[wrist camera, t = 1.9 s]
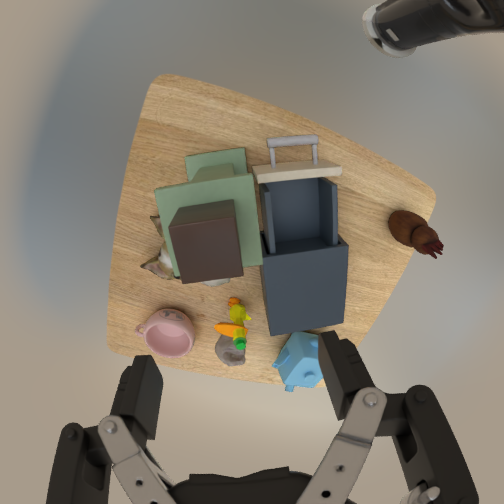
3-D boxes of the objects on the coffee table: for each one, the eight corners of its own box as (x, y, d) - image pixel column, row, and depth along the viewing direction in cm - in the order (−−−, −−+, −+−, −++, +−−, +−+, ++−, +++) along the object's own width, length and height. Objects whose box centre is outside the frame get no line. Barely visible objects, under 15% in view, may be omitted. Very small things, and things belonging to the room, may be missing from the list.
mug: (196, 304, 53) (194, 324, 47) (196, 341, 57) (194, 361, 51) (136, 298, 51) (128, 317, 46) (141, 336, 55) (135, 355, 50)
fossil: (216, 337, 57) (215, 373, 48) (213, 325, 55) (211, 361, 46) (244, 334, 57) (247, 370, 48) (241, 321, 55) (244, 357, 46)
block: (178, 207, 22) (167, 226, 18) (233, 198, 22) (234, 216, 18) (189, 256, 24) (182, 284, 20) (240, 249, 24) (243, 276, 20)
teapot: (304, 373, 64) (313, 405, 55) (252, 364, 61) (256, 399, 52) (344, 320, 57) (360, 352, 48) (287, 305, 54) (298, 340, 45)
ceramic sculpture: (219, 314, 43) (128, 286, 41) (222, 286, 51) (144, 262, 49) (240, 255, 39) (138, 224, 37) (241, 234, 47) (156, 207, 45)
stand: (185, 156, 41) (146, 185, 21) (243, 147, 41) (258, 167, 21) (195, 210, 45) (171, 282, 25) (250, 202, 45) (269, 269, 25)
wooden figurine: (379, 232, 49) (424, 270, 36) (388, 203, 47) (437, 234, 33) (406, 236, 50) (451, 273, 36) (414, 209, 48) (463, 240, 34)
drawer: (248, 138, 40) (252, 141, 33) (321, 132, 40) (340, 135, 33) (261, 246, 47) (267, 268, 40) (326, 237, 48) (342, 257, 41)
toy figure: (213, 304, 53) (211, 349, 42) (218, 289, 51) (217, 333, 41) (247, 312, 54) (252, 356, 43) (253, 298, 53) (259, 341, 42)
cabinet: (255, 232, 47) (262, 257, 39) (327, 222, 47) (348, 245, 39) (263, 302, 54) (270, 336, 45) (327, 292, 54) (343, 323, 45)
